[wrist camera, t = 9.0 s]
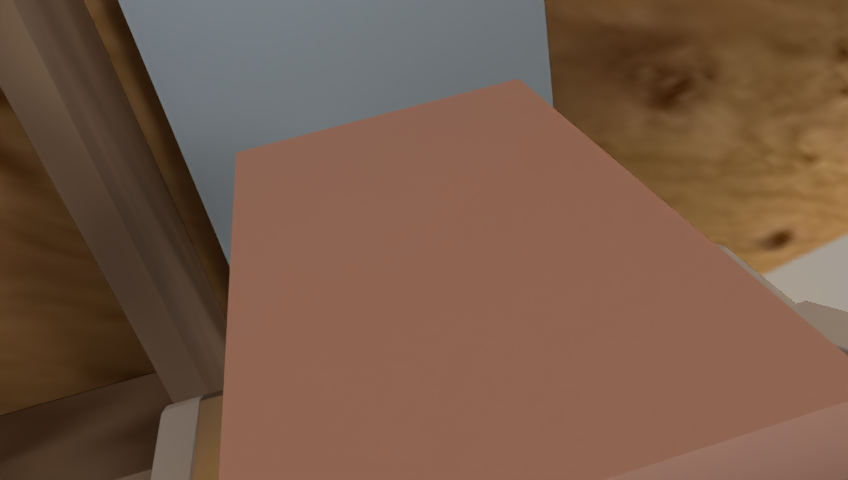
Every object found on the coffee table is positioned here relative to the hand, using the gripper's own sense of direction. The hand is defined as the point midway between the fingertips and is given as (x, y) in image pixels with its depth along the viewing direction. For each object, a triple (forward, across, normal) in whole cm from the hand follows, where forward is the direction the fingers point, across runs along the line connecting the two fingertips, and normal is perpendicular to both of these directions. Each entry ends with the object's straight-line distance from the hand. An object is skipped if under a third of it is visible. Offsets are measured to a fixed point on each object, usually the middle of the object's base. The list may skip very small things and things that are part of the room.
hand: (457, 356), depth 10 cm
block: (+4, 0, 0) cm, 4 cm away
